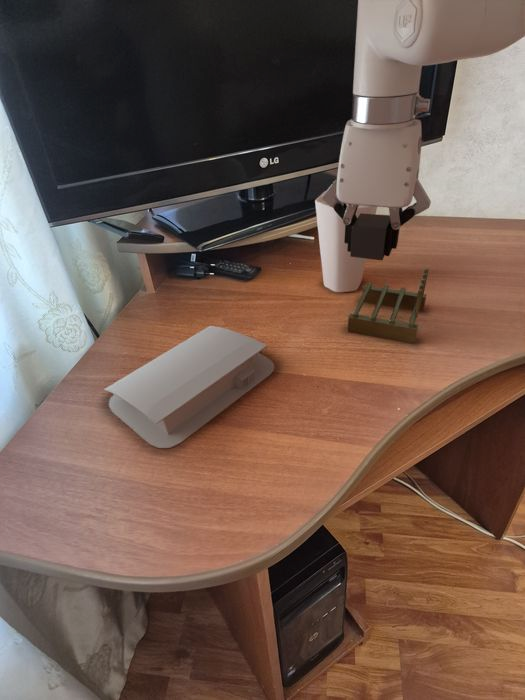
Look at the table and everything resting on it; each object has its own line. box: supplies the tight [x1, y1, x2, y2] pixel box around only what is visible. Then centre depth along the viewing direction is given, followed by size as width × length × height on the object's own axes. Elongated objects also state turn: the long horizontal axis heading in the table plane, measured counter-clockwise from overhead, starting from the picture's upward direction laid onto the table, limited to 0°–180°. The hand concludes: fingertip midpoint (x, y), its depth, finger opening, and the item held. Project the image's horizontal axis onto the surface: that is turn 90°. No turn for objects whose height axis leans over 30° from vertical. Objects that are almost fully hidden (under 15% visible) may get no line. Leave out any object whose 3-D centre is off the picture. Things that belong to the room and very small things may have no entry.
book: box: [104, 325, 275, 449], centre depth 65 cm, size 15×23×4 cm, turn 137°
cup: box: [314, 190, 378, 293], centre depth 82 cm, size 11×10×17 cm
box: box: [350, 213, 391, 261], centre depth 63 cm, size 5×5×5 cm
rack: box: [347, 267, 429, 345], centre depth 74 cm, size 11×11×9 cm
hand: (370, 248), depth 64 cm, fingers closed on box, 4 cm apart
